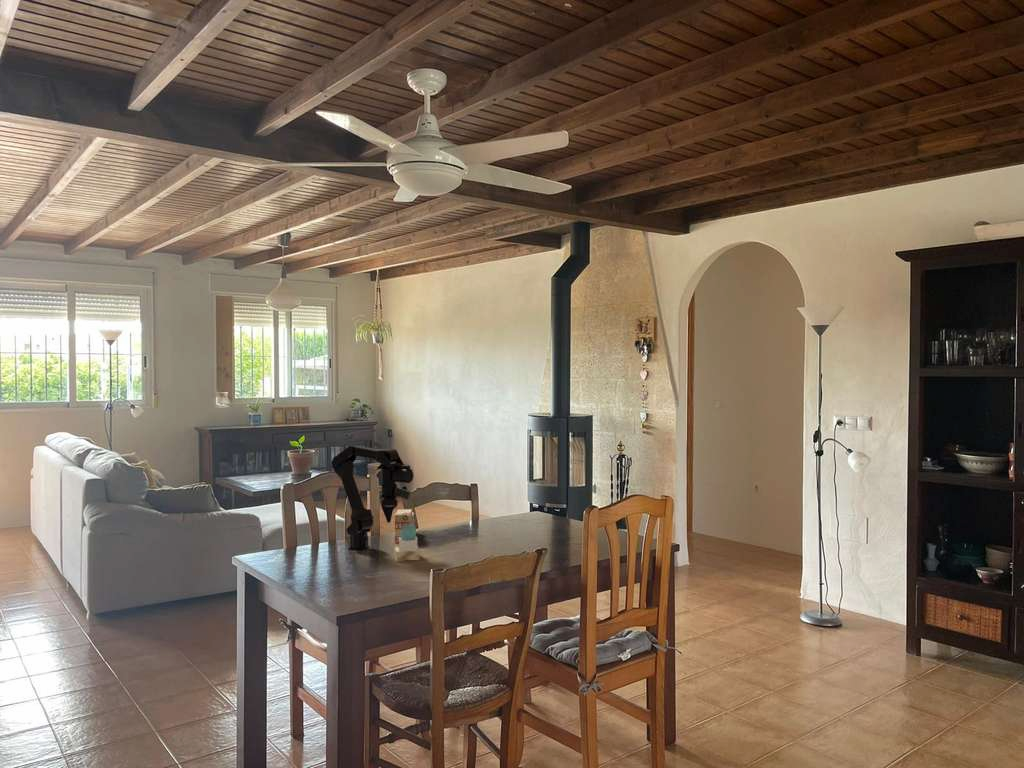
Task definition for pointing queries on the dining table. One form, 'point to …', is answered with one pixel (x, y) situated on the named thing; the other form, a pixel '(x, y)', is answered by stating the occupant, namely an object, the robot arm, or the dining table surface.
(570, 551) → the dining table surface
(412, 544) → the white upper slab
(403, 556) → the oak base slab
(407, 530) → the seafoam tapered dome
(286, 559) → the dining table surface
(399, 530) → the beige printed box
